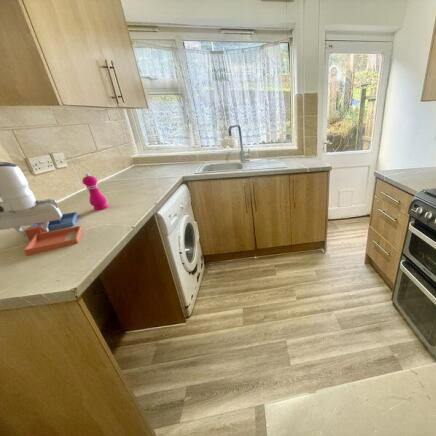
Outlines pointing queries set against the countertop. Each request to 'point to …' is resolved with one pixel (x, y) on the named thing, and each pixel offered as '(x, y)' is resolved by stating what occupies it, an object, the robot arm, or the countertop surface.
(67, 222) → the blue tray
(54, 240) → the orange tray
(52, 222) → the blue block
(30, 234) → the terracotta block
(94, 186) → the pepper mill
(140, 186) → the countertop surface
